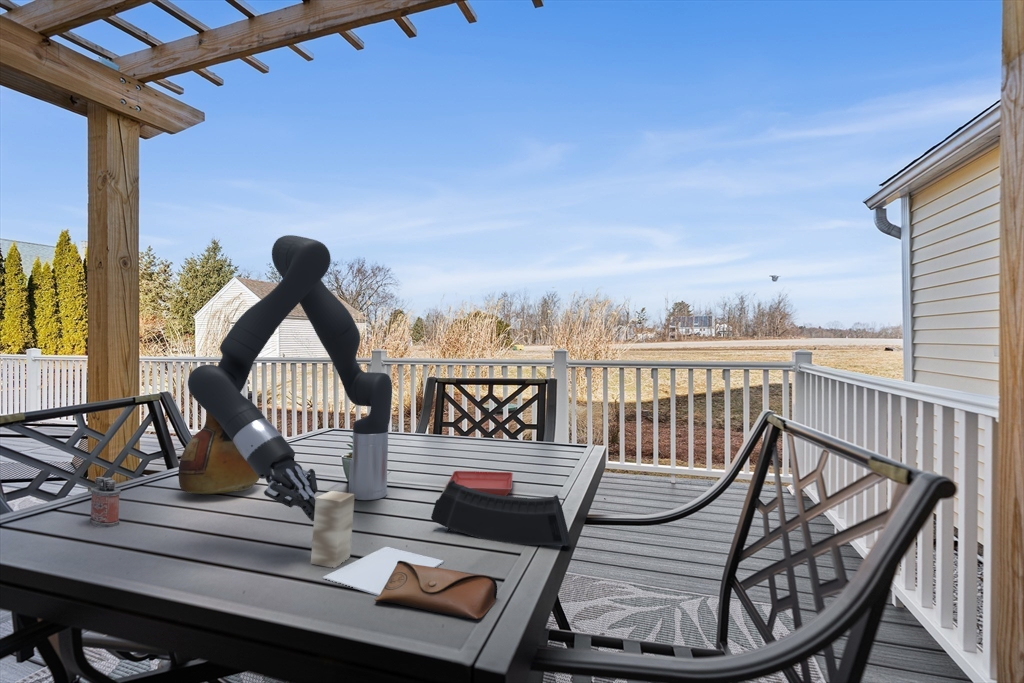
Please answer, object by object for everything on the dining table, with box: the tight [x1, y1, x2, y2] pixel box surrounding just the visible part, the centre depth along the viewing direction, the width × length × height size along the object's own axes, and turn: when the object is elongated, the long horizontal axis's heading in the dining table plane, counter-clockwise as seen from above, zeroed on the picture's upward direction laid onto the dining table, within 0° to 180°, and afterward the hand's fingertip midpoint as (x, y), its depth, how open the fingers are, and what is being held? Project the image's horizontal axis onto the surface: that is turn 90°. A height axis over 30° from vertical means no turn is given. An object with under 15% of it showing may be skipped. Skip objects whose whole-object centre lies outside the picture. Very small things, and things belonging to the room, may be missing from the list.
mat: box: [322, 546, 445, 597], centre depth 92 cm, size 14×16×1 cm
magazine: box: [430, 480, 571, 547], centre depth 108 cm, size 17×3×30 cm
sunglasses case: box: [374, 561, 498, 620], centre depth 81 cm, size 18×7×7 cm
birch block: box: [310, 490, 355, 569], centre depth 95 cm, size 5×5×12 cm
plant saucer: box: [446, 470, 514, 496], centre depth 148 cm, size 18×18×3 cm
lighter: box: [89, 476, 121, 529], centre depth 113 cm, size 8×3×10 cm, turn 65°
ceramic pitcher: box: [177, 410, 260, 495], centre depth 139 cm, size 20×20×30 cm
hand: (319, 517), depth 96 cm, fingers closed
